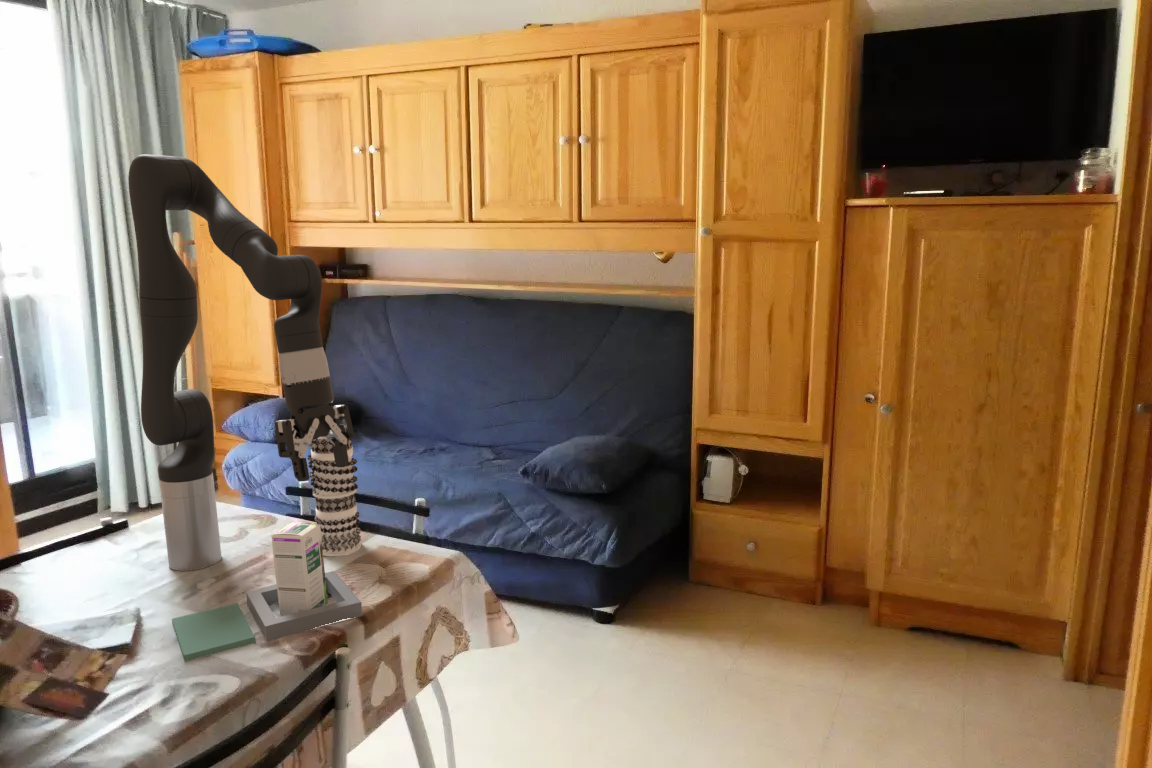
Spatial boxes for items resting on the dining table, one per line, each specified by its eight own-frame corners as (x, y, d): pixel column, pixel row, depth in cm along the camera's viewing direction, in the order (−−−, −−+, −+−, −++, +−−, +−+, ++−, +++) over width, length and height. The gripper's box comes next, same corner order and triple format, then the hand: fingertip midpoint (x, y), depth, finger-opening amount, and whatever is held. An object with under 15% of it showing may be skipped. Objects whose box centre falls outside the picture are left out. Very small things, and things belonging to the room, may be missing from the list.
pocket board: (247, 605, 139) (245, 591, 139) (335, 583, 147) (334, 570, 147) (266, 641, 127) (265, 626, 126) (362, 616, 135) (361, 601, 134)
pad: (172, 624, 133) (171, 618, 133) (238, 608, 138) (237, 603, 138) (184, 661, 121) (183, 655, 121) (255, 642, 127) (255, 636, 126)
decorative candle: (305, 549, 163) (295, 427, 159) (345, 536, 170) (337, 418, 166) (331, 561, 157) (322, 434, 153) (372, 546, 164) (364, 424, 160)
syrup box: (311, 620, 134) (304, 535, 131) (278, 617, 135) (270, 533, 132) (328, 604, 139) (322, 522, 136) (296, 601, 140) (289, 520, 138)
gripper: (322, 372, 143) (338, 463, 145) (255, 386, 131) (273, 485, 133) (353, 369, 139) (370, 462, 141) (287, 383, 127) (306, 485, 129)
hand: (323, 473), depth 137 cm, fingers open, 8 cm apart
